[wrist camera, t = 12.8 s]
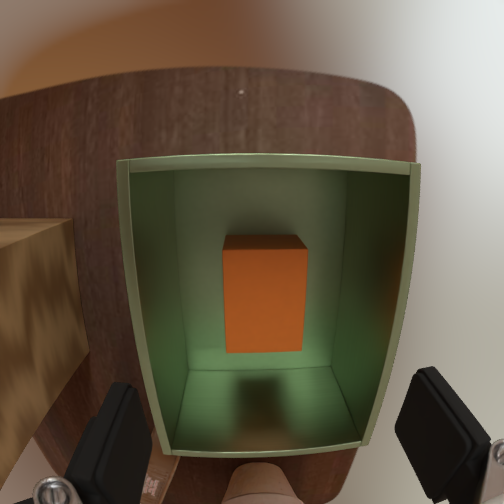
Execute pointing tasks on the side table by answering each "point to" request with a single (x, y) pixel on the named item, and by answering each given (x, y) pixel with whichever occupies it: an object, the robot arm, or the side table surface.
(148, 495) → the tin
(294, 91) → the side table surface
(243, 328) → the block
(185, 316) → the trash bin
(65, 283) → the wood grain block
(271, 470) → the potted plant
